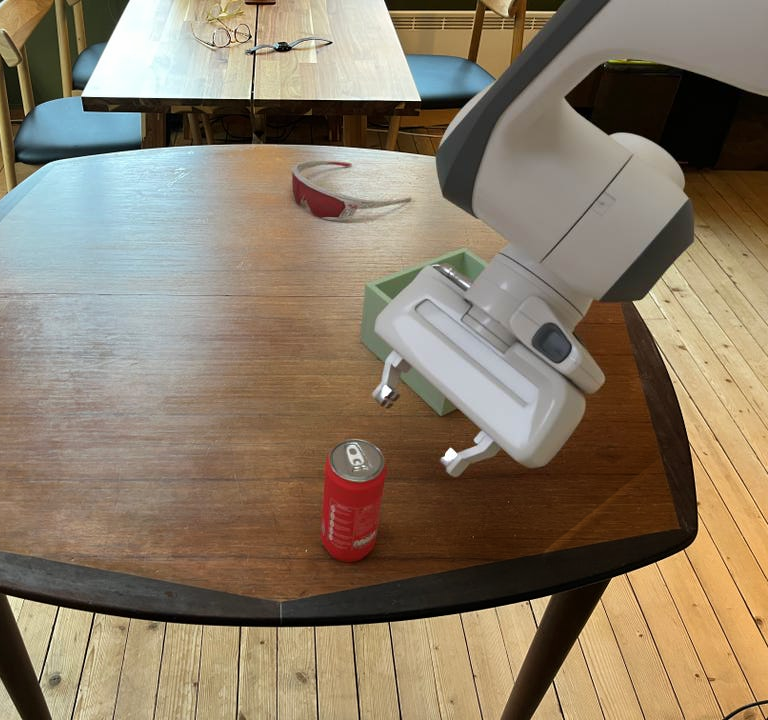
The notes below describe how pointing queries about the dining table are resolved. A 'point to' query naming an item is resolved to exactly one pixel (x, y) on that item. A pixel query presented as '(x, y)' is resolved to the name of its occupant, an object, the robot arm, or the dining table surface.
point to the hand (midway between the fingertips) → (411, 435)
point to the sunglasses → (330, 195)
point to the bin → (386, 291)
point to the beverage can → (352, 499)
